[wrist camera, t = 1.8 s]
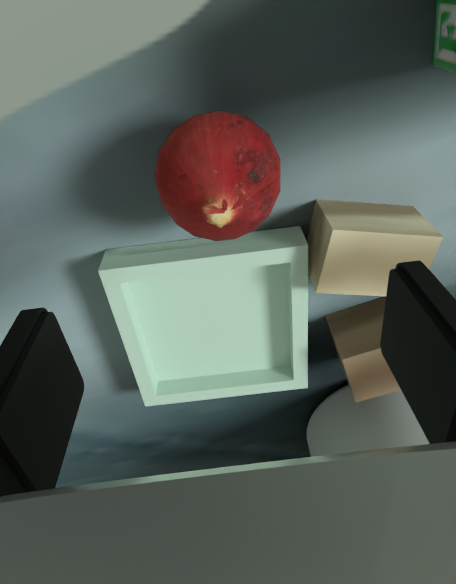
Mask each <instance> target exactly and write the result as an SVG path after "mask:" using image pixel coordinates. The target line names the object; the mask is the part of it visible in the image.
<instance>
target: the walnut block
mask: <svg viewBox="0 0 456 584" xmlns="http://www.w3.org/2000/svg"><path fill="white" fill-rule="evenodd" d="M385 302H386V296H384V297H381V298H378V299H375V300H372V301H369V302H366V303H362V304H359V305H356V306H353V307H350V308H347V309H344V310H341V311H338V312H335V313H332V314H328V315H325V317H326V320H327V323H328V326H329V329H330V332H331V335H332V339H333V342H334V345H335V348H336V351H337V354H338V357H339V360H340V362H341V365H342V368H343V370H344V373H345V376H346V378H347V381H348V383H349V386H350V389H351V391H352V394H353V397H354V399H355V402H360V401H363V400H367V399H370V398H374V397H378V396H381V395H385V394H388V393H392V392H395V391H399V390H401V389H400V387H399V385H398V383H397V381H396V379H395V377H394V376H393V374H392V372H391V370H390V368H389V366H388V364H387V362H386V360H385V359H384V357H383V355H382V352H381V347H380V341H381V333H382V325H383V317H384V309H385Z"/></svg>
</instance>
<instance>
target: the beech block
mask: <svg viewBox="0 0 456 584" xmlns="http://www.w3.org/2000/svg"><path fill="white" fill-rule="evenodd" d="M442 239H443V236H442V235H441V234H440V233H439V232H438V231H437V230H436V229H435V228H434V227H433V226H432V225H431V224H430V223H429V222H428V221H427V220H426V219H425V218H424V217H423V216H422V215H421V214H420V213H419V212H418V211H417V210H416V209H415V208H414V207H413V206H400V205H386V204H372V203H358V202H344V201H331V200H317V199H316V202H315V207H314V211H313V215H312V219H311V224H310V228H309V232H308V237H307V244H308V273H309V276H310V279H311V281H312V284H313V287H314V289H315V292H316V293H328V294H348V295H368V296H386V294H387V286H388V278H389V272H390V270H391V269H395V267H396V265H397V264H398V263H402V262H410V261H418V260H419V261H421V262H423V263H424V265H425V266H426V267H427V268H428V269H429V268H430V266H431V263H432V261H433V259H434V257H435V254H436V252H437V250H438V248H439V245H440V243H441V241H442Z"/></svg>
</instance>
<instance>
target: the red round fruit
mask: <svg viewBox="0 0 456 584" xmlns="http://www.w3.org/2000/svg"><path fill="white" fill-rule="evenodd" d="M155 180H156V185H157V188H158V192H159V196H160V200H161V203H162V205H163V206H164V208H165V209H166V211H167V212H168V213H169V215H170V216H171V217H172V219H173V220H174V221H175V223H176V224H177V225H178V226H180V227H181V228H183V229H184V230H186V231H187V232H189V233H190V234H192V235H194V236H196V237H200V238H204V239H209V240H213V241H224V240H234V239H237V238H239V237H241V236H243V235H245V234H247V233H249V232H251V231H254V230H255V229H256V228H257V227H258V226H259V225H260V224H261V223H262V222H263V221H264V220H265V219H266V218H267V217H268V216H269V214H270V213H271V211H272V208H273V206H274V204H275V202H276V199H277V197H278V195H279V193H280V158H279V156H278V153H277V151H276V149H275V147H274V145H273V143H272V141H271V138H270V136H269V134H268V133H266V132H265V131H264V130H263V129H261V128H260V127H259V126H258V125H256V124H255V123H254V122H253V121H252V120H250V119H249V118H248V117H247V116H243V115H239V114H234V113H229V112H224V111H215V112H210V113H205V114H199V115H194V116H193V117H191V118H190V119H188V120H187V121H185V122H184V123H182V124H181V125H179V126H177V127H176V128H175V129H174V130H173V131H172V132H171V134H170V135H169V137H168V138H167V140H166V141H165V143H164V144H163V146H162V147H161V148H160V150H159V153H158V158H157V164H156V170H155Z"/></svg>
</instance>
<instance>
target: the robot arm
mask: <svg viewBox="0 0 456 584" xmlns="http://www.w3.org/2000/svg"><path fill="white" fill-rule="evenodd" d="M380 347H381V352H382V355H383V357H384V359H385V360H386V362H387V364H388V366H389V368H390V370H391V372H392V374H393V376H394V377H395V379H396V381H397V383H398V385H399V387H400V389H401V391H402V393H403V394H404V396H405V398H406V400H407V402H408V404H409V406H410V408H411V409H412V411H413V413H414V415H415V417H416V419H417V421H418V423H419V425H420V426H421V428H422V430H423V432H424V434H425V436H426V438H427V440H428V442H429V443H430V444H425V445H414V446H404V447H394V448H384V449H376V450H367V451H358V452H349V453H341V454H332V455H323V456H314V457H306V458H297V459H288V460H280V461H271V462H263V463H255V464H246V465H238V466H229V467H221V468H213V469H204V470H196V471H188V472H180V473H171V474H163V475H155V476H147V477H139V478H131V479H123V480H115V481H107V482H99V483H91V484H83V485H75V486H68V487H61V488H55V486H56V483H57V479H58V476H59V473H60V469H61V466H62V463H63V459H64V456H65V453H66V449H67V446H68V442H69V439H70V436H71V432H72V429H73V426H74V422H75V419H76V415H77V412H78V409H79V405H80V402H81V399H82V395H83V391H84V382H83V378H82V376H81V374H80V371H79V369H78V367H77V365H76V362H75V360H74V358H73V356H72V353H71V351H70V349H69V346H68V344H67V342H66V340H65V337H64V335H63V333H62V331H61V328H60V326H59V324H58V321H57V319H56V317H55V315H54V313H52V312H48V311H47V310H46V309H45V308H36V309H28V310H22V311H21V312H20V313H19V315H18V316H17V318H16V320H15V322H14V323H13V325H12V327H11V328H10V330H9V332H8V334H7V335H6V337H5V339H4V340H3V342H2V344H1V346H0V584H456V300H455V299H454V298H453V296H452V295H451V294H450V293H449V292H448V291H447V290H446V288H445V287H444V286H443V285H442V284H441V283H440V282H439V280H438V279H437V278H436V277H435V276H434V275H433V274H432V273H431V271H430V270H429V269H428V268H427V267H426V266H425V265H424V263H423V262H421V261H419V260H418V261H410V262H402V263H398V264H397V265H396V267H395V269H391V270H390V272H389V278H388V286H387V294H386V302H385V309H384V317H383V325H382V333H381V341H380Z"/></svg>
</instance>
